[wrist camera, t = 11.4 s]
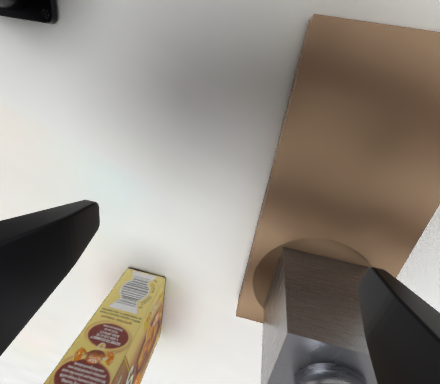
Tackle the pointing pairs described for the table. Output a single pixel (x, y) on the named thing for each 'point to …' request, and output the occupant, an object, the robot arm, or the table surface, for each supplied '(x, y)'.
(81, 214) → the robot arm
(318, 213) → the brown flat block
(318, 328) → the metal cube with knob
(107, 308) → the candy box
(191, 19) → the table surface
